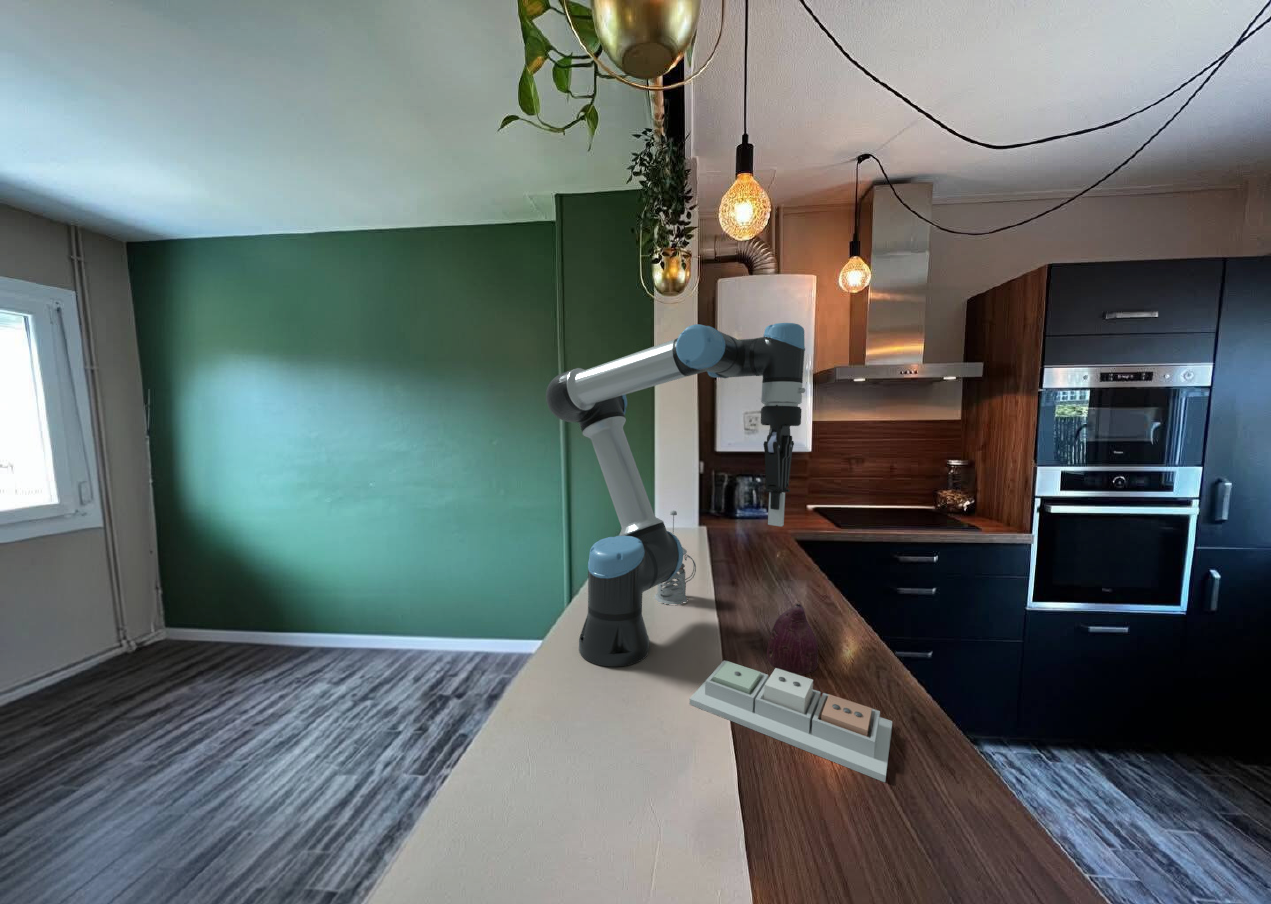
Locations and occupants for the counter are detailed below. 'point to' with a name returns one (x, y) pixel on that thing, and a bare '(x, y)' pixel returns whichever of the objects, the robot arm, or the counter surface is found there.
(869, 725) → the key three
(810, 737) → the console
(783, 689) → the key two
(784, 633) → the vegetable
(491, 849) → the counter surface
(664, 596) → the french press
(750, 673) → the key one
